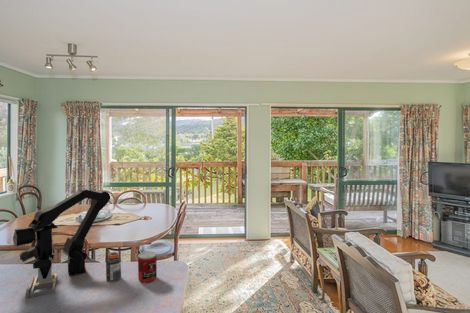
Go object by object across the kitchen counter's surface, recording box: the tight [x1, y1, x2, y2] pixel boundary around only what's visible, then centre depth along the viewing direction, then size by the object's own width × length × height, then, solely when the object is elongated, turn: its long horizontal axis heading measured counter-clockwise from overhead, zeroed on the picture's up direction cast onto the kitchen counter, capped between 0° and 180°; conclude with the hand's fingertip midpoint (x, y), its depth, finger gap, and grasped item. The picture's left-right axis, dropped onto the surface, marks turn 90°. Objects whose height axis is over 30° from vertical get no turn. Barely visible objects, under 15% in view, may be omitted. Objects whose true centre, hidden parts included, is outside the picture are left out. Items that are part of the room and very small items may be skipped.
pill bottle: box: [105, 251, 122, 283], centre depth 126 cm, size 6×6×11 cm
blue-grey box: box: [37, 265, 53, 283], centre depth 123 cm, size 4×4×8 cm
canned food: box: [137, 250, 158, 284], centre depth 126 cm, size 8×8×11 cm
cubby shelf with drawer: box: [25, 273, 58, 299], centre depth 119 cm, size 9×16×2 cm, turn 28°
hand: (45, 276), depth 123 cm, fingers closed on blue-grey box, 4 cm apart
